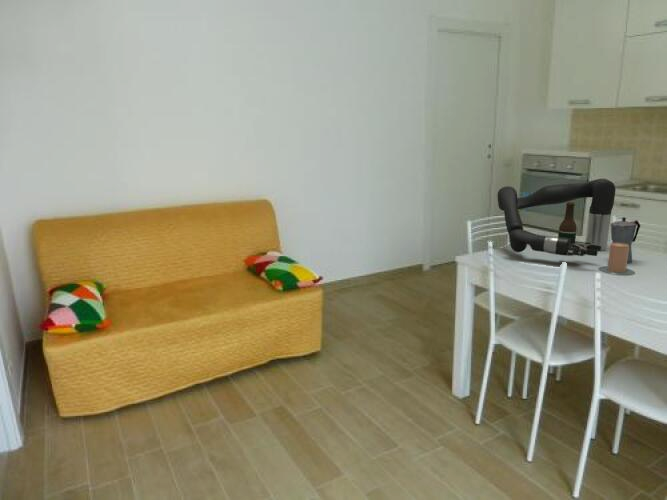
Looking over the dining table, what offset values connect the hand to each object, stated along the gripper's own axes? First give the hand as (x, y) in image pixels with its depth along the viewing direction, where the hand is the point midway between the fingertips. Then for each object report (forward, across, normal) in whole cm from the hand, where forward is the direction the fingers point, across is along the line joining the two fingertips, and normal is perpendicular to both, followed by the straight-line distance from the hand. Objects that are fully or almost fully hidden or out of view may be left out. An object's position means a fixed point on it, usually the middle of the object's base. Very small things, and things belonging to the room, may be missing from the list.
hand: (599, 250), depth 202 cm
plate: (+7, 0, -8) cm, 11 cm away
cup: (+7, 0, -7) cm, 10 cm away
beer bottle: (-16, -19, -8) cm, 26 cm away
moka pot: (+6, -17, -8) cm, 20 cm away
